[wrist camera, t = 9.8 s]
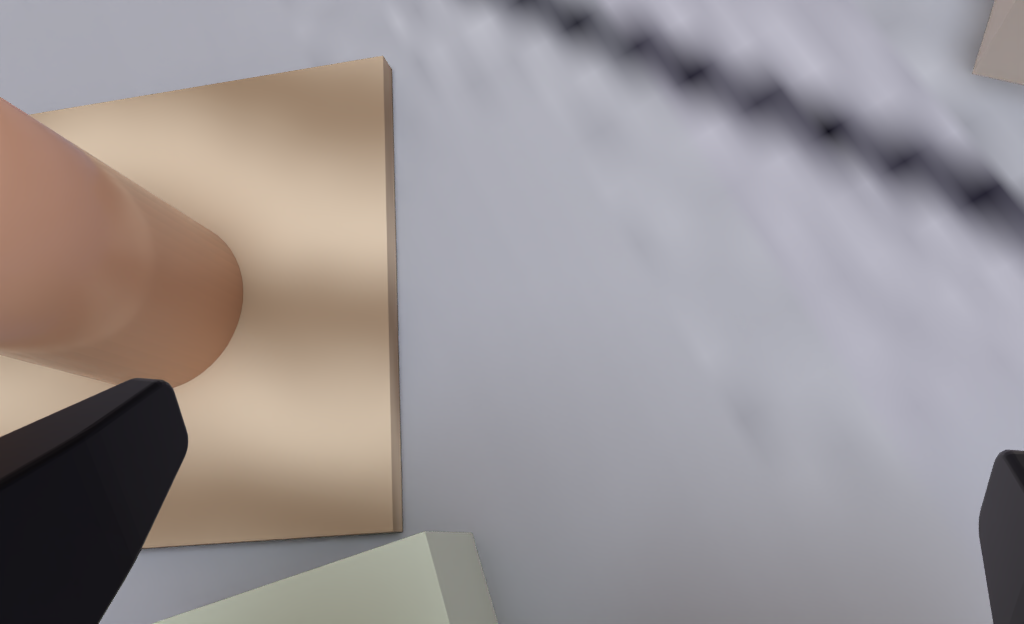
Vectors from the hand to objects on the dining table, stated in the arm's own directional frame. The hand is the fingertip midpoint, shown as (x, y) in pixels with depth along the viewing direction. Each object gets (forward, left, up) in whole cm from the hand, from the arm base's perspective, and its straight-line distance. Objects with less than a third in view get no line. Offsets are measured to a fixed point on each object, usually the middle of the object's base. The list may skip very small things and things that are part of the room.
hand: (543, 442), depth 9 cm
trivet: (+7, +13, -14) cm, 20 cm away
